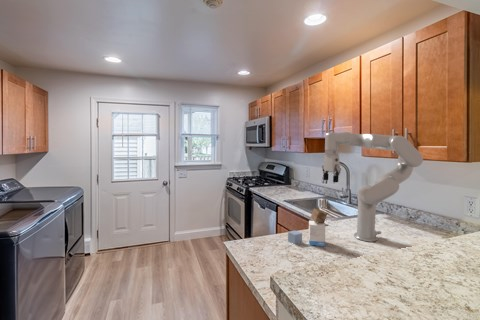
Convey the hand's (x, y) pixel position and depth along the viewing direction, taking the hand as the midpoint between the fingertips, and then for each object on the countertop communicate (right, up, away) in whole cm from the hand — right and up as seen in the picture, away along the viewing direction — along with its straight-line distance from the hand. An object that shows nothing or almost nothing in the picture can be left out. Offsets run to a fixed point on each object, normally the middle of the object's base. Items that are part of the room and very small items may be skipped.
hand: (330, 181), depth 152 cm
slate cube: (-24, -34, -10) cm, 43 cm away
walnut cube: (-12, -21, -12) cm, 27 cm away
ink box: (-12, -34, -11) cm, 38 cm away
